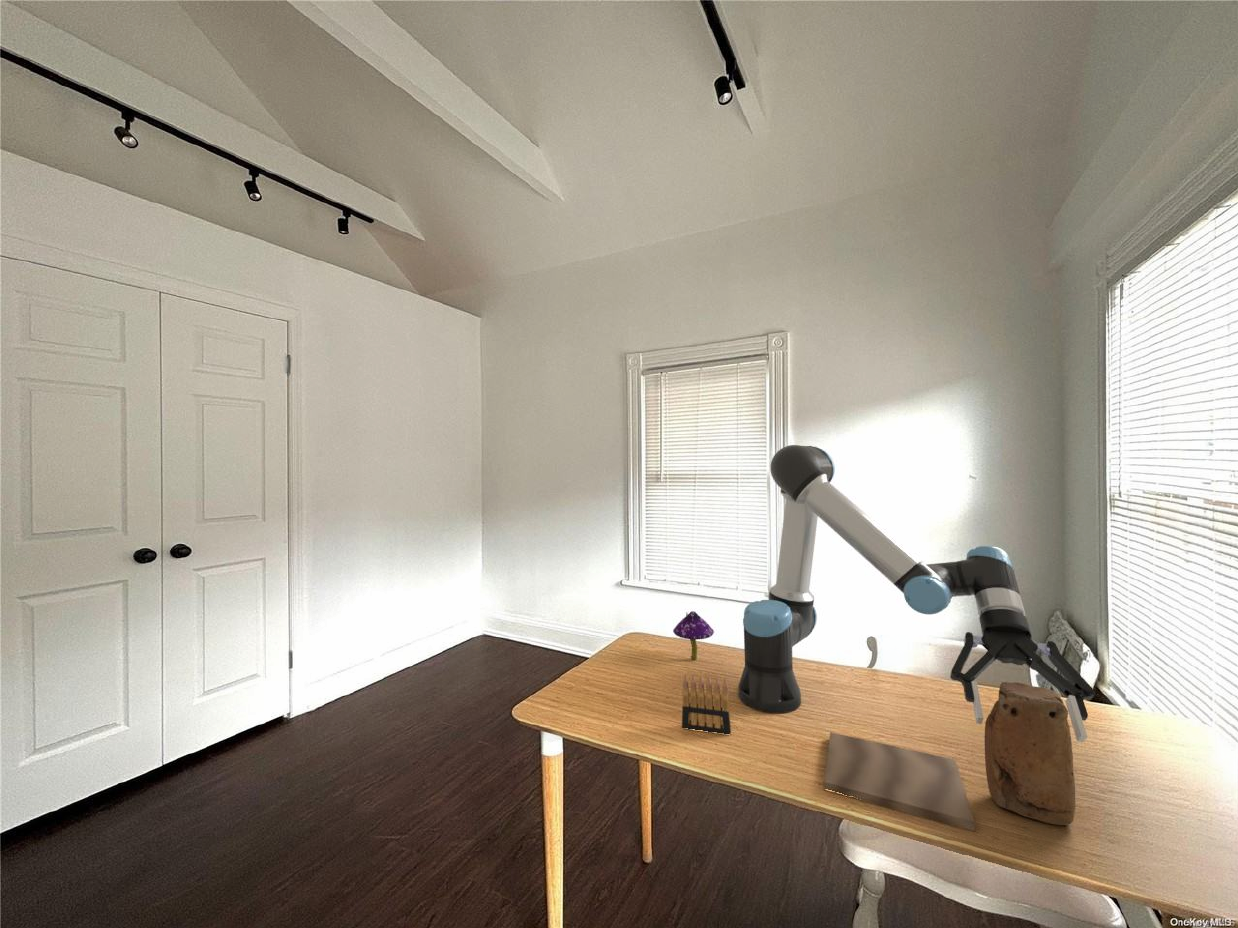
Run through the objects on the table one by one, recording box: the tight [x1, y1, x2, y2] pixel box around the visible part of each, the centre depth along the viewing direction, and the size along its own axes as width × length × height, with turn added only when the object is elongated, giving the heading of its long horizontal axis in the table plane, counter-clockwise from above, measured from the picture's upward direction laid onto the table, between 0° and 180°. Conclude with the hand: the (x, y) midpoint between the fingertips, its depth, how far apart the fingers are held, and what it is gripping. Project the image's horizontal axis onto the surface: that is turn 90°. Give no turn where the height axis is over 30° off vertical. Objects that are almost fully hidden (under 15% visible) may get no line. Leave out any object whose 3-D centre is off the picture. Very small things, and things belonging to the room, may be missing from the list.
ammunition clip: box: [681, 673, 732, 734], centre depth 105 cm, size 11×2×12 cm, turn 73°
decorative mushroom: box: [672, 610, 715, 661], centre depth 144 cm, size 12×12×15 cm
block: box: [984, 681, 1076, 826], centre depth 79 cm, size 11×8×20 cm
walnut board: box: [823, 732, 976, 832], centre depth 87 cm, size 22×18×2 cm
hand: (1029, 729), depth 80 cm, fingers open, 13 cm apart
